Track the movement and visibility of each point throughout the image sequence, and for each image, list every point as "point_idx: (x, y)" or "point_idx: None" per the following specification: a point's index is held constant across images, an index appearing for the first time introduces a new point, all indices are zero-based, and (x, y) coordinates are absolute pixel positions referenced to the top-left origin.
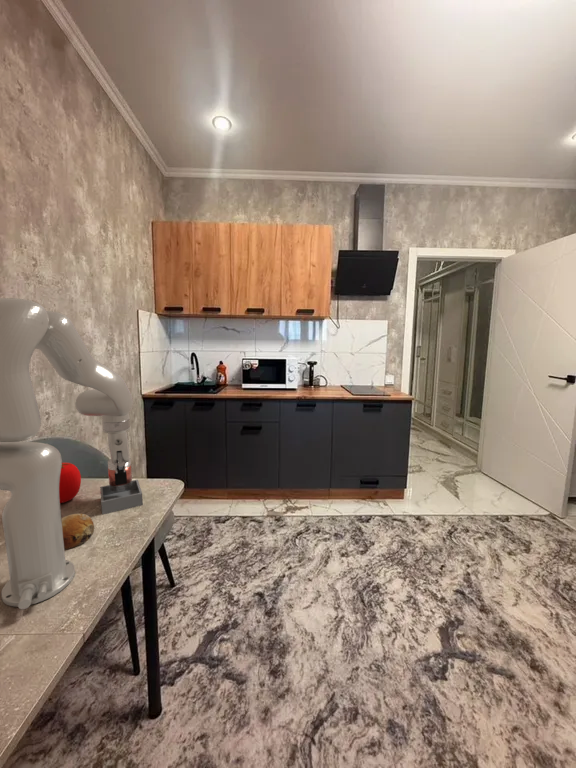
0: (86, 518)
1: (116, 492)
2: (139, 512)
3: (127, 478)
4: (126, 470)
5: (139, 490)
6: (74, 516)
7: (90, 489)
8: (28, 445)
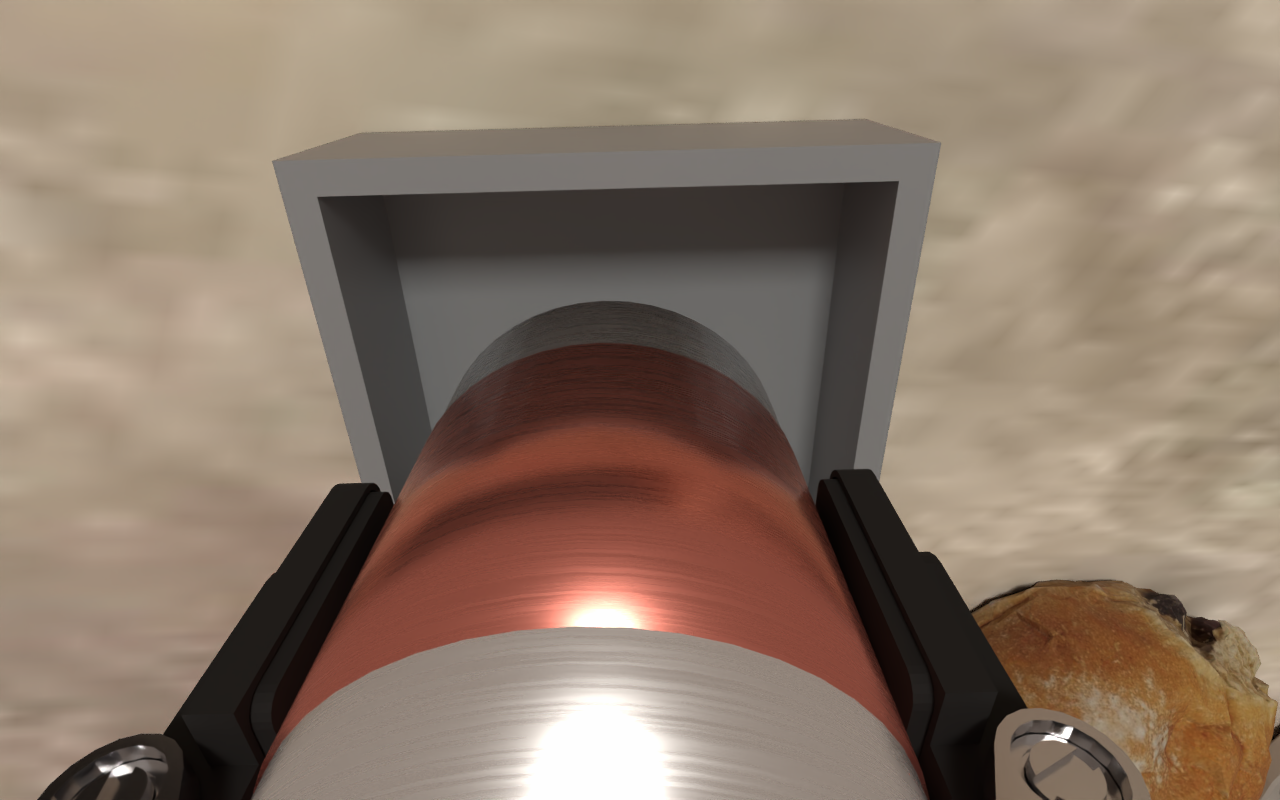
0: (1158, 724)
1: (427, 420)
2: (1031, 182)
3: (802, 487)
4: (877, 666)
5: (795, 177)
6: None
7: (191, 606)
8: None
